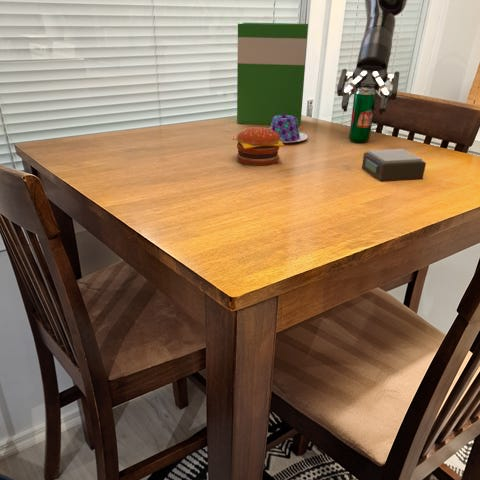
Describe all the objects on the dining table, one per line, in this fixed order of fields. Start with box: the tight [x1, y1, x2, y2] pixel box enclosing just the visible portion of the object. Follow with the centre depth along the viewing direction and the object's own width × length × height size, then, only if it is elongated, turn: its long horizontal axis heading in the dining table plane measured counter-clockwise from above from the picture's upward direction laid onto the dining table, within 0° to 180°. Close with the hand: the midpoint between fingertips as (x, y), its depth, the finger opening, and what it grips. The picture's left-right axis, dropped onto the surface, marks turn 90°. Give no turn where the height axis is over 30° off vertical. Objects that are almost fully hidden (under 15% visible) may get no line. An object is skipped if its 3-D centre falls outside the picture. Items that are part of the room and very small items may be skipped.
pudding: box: [269, 115, 309, 144], centre depth 122 cm, size 12×12×5 cm
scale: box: [361, 148, 427, 182], centre depth 100 cm, size 9×9×4 cm
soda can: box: [348, 87, 377, 144], centre depth 120 cm, size 5×5×12 cm
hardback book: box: [236, 21, 309, 127], centre depth 134 cm, size 18×7×24 cm, turn 82°
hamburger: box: [232, 126, 285, 166], centre depth 106 cm, size 9×10×7 cm
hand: (362, 111), depth 119 cm, fingers open, 8 cm apart
